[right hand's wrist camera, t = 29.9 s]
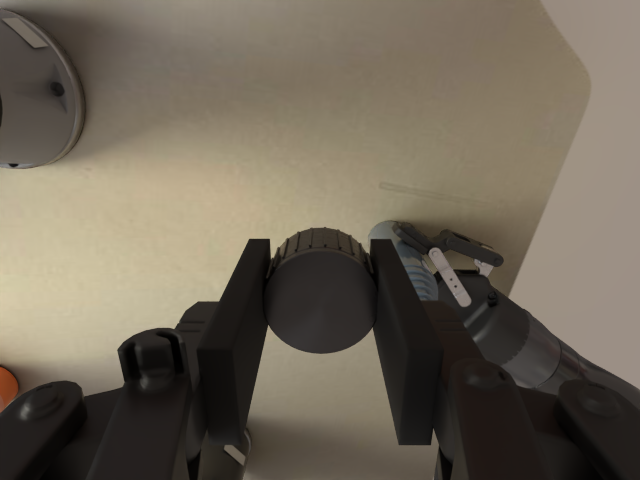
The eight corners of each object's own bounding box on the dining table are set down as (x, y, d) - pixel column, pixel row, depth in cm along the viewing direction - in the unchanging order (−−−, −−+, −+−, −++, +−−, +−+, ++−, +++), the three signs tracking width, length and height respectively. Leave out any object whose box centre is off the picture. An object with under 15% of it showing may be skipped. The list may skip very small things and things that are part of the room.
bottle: (408, 218, 44) (461, 299, 26) (409, 257, 45) (460, 358, 28) (366, 222, 44) (390, 305, 26) (369, 261, 45) (393, 363, 28)
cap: (278, 323, 15) (271, 360, 13) (261, 231, 14) (250, 256, 12) (376, 314, 15) (385, 349, 13) (369, 220, 14) (377, 242, 12)
